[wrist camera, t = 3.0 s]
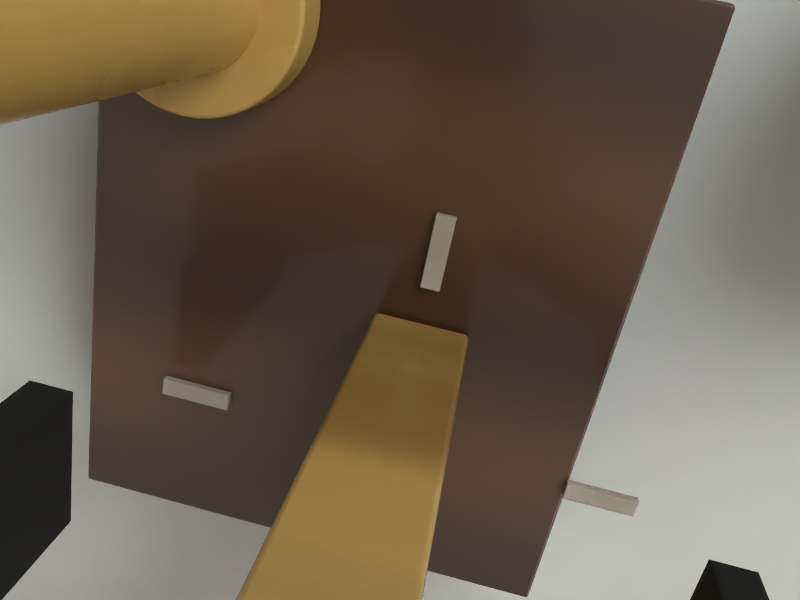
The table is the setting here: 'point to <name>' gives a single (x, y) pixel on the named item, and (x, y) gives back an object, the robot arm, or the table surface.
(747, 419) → the table surface
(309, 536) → the tap handle
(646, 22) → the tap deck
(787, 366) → the table surface
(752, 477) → the table surface
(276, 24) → the tap spout
